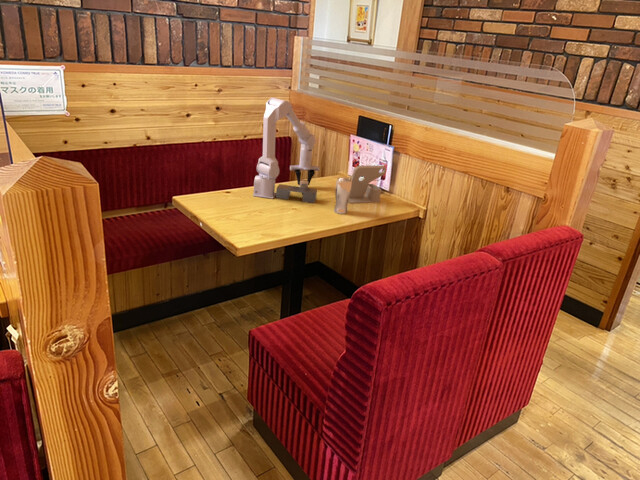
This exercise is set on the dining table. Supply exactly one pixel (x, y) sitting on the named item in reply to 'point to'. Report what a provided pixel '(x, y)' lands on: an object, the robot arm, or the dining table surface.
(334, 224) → the dining table surface
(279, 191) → the block
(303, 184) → the plug
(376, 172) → the phone holder
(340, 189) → the beer glass
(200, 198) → the dining table surface
